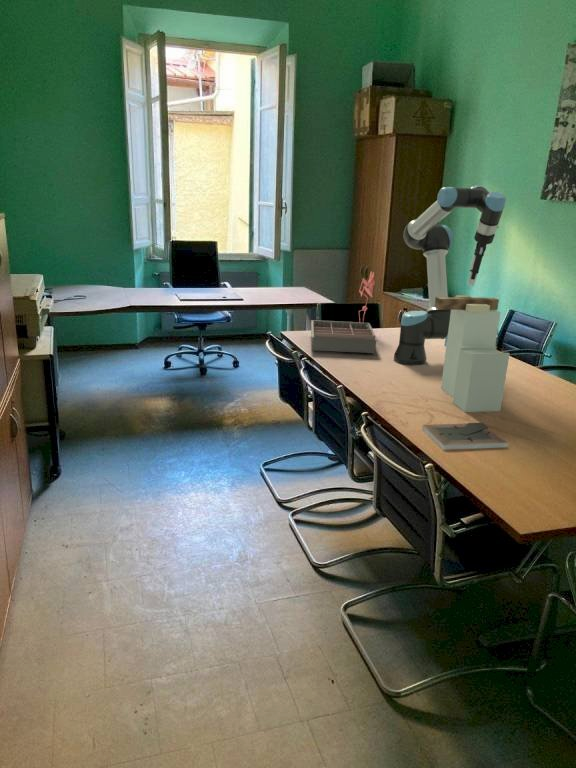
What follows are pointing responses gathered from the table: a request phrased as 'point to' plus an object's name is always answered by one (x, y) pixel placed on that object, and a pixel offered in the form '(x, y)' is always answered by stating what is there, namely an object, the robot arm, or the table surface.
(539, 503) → the table surface
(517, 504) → the table surface
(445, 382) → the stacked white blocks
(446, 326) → the robot arm
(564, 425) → the table surface
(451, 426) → the picture frame
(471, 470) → the table surface
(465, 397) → the pale grey rectangular block
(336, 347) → the organizer tray
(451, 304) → the walnut batten
